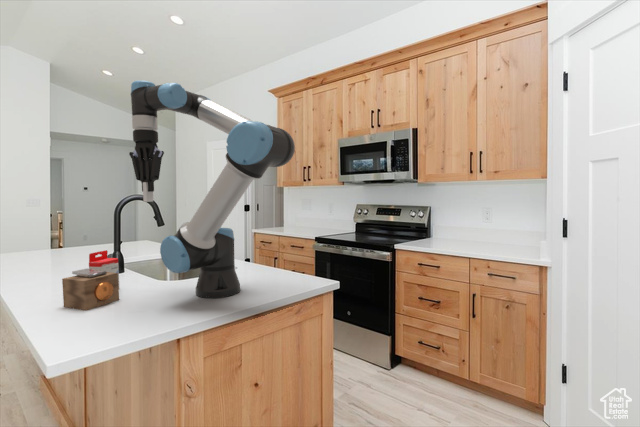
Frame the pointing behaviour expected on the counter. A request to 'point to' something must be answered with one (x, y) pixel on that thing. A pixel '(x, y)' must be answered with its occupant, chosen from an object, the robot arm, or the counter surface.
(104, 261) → the ink box
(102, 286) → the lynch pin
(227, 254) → the robot arm
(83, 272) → the plate
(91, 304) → the block
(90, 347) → the counter surface
